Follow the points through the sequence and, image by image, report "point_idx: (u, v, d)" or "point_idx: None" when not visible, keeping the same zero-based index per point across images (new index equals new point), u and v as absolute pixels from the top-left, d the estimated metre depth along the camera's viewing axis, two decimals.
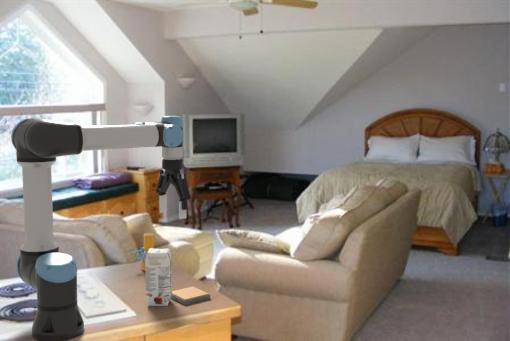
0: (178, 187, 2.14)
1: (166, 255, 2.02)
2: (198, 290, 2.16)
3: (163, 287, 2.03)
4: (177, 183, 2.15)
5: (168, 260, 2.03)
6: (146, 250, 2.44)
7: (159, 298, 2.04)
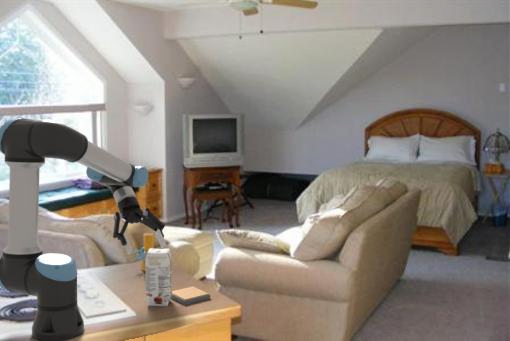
0: None
1: (166, 255, 2.02)
2: (198, 290, 2.16)
3: (163, 287, 2.03)
4: None
5: (168, 260, 2.03)
6: (146, 250, 2.44)
7: (159, 298, 2.04)
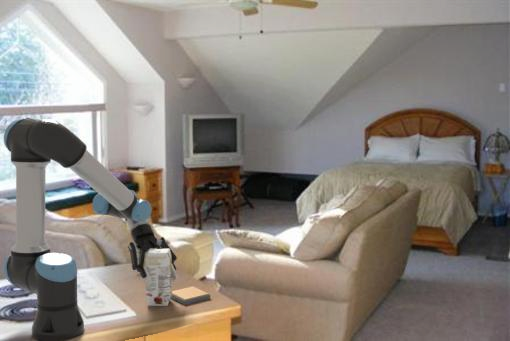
0: None
1: (166, 255, 2.02)
2: (198, 290, 2.16)
3: (163, 287, 2.03)
4: None
5: (168, 260, 2.03)
6: None
7: (159, 298, 2.04)
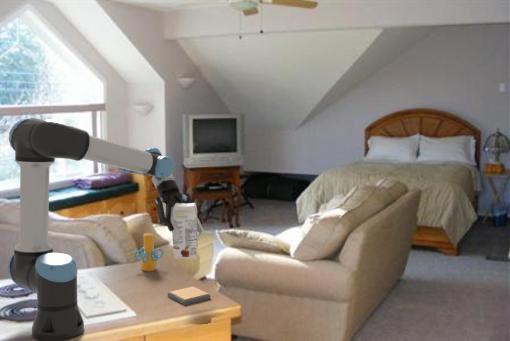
0: None
1: (193, 208, 2.06)
2: (198, 290, 2.16)
3: (189, 240, 2.07)
4: None
5: (195, 213, 2.07)
6: (146, 250, 2.44)
7: (186, 250, 2.07)
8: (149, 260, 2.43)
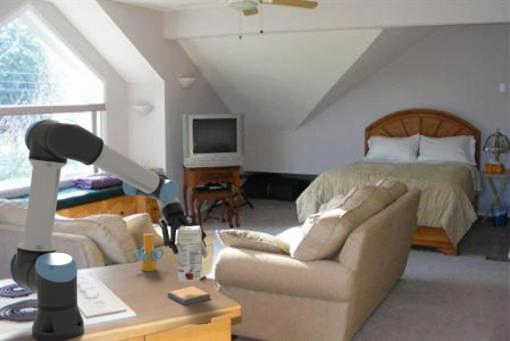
0: None
1: (197, 232, 2.08)
2: (198, 290, 2.16)
3: (194, 263, 2.09)
4: None
5: (199, 237, 2.08)
6: (146, 250, 2.44)
7: (190, 273, 2.09)
8: (149, 260, 2.43)
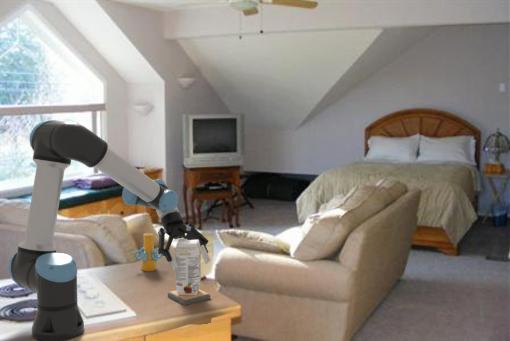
0: None
1: (196, 246, 2.08)
2: (198, 290, 2.16)
3: (192, 277, 2.09)
4: None
5: (198, 250, 2.09)
6: (146, 250, 2.44)
7: (189, 287, 2.09)
8: (149, 260, 2.43)
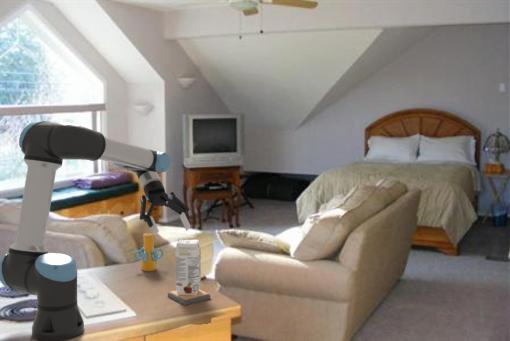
0: None
1: (196, 246, 2.08)
2: (198, 290, 2.16)
3: (192, 277, 2.09)
4: None
5: (198, 251, 2.09)
6: (146, 250, 2.44)
7: (189, 287, 2.09)
8: (149, 260, 2.43)
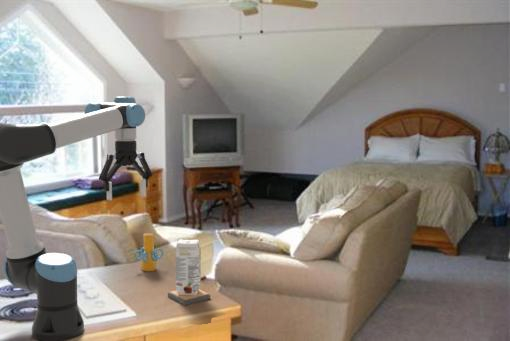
0: None
1: (196, 246, 2.08)
2: (198, 290, 2.16)
3: (192, 277, 2.09)
4: None
5: (198, 251, 2.09)
6: (146, 250, 2.44)
7: (189, 287, 2.09)
8: (149, 260, 2.43)
